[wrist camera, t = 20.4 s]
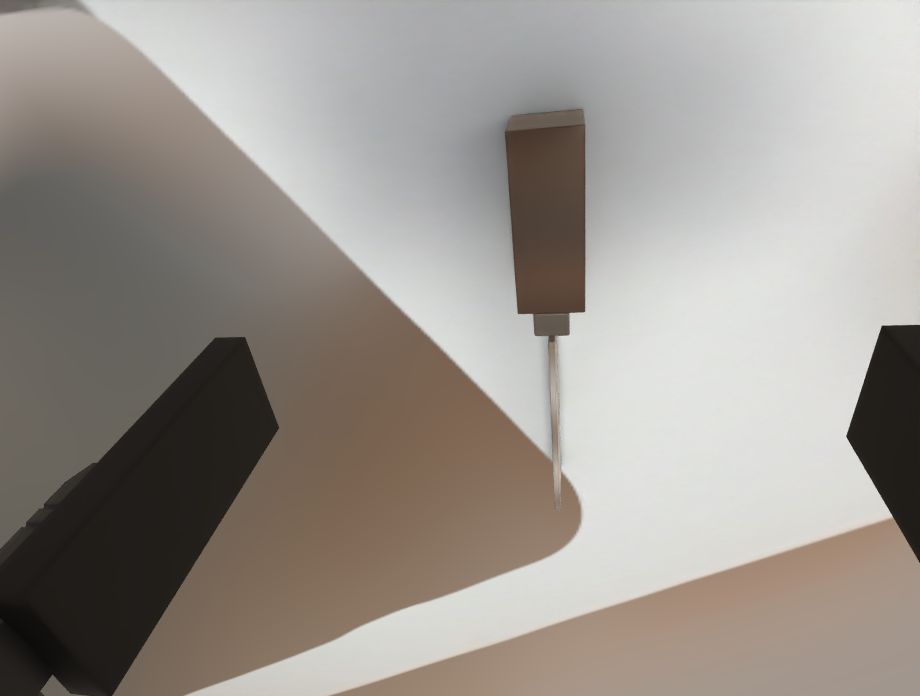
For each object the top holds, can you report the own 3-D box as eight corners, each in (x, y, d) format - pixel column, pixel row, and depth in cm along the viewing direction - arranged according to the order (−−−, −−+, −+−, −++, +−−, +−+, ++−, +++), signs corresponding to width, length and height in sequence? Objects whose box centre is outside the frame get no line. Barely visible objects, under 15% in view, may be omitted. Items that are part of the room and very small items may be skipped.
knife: (511, 115, 25) (503, 134, 22) (583, 108, 24) (585, 127, 21) (533, 465, 35) (530, 509, 32) (583, 467, 35) (585, 512, 32)
